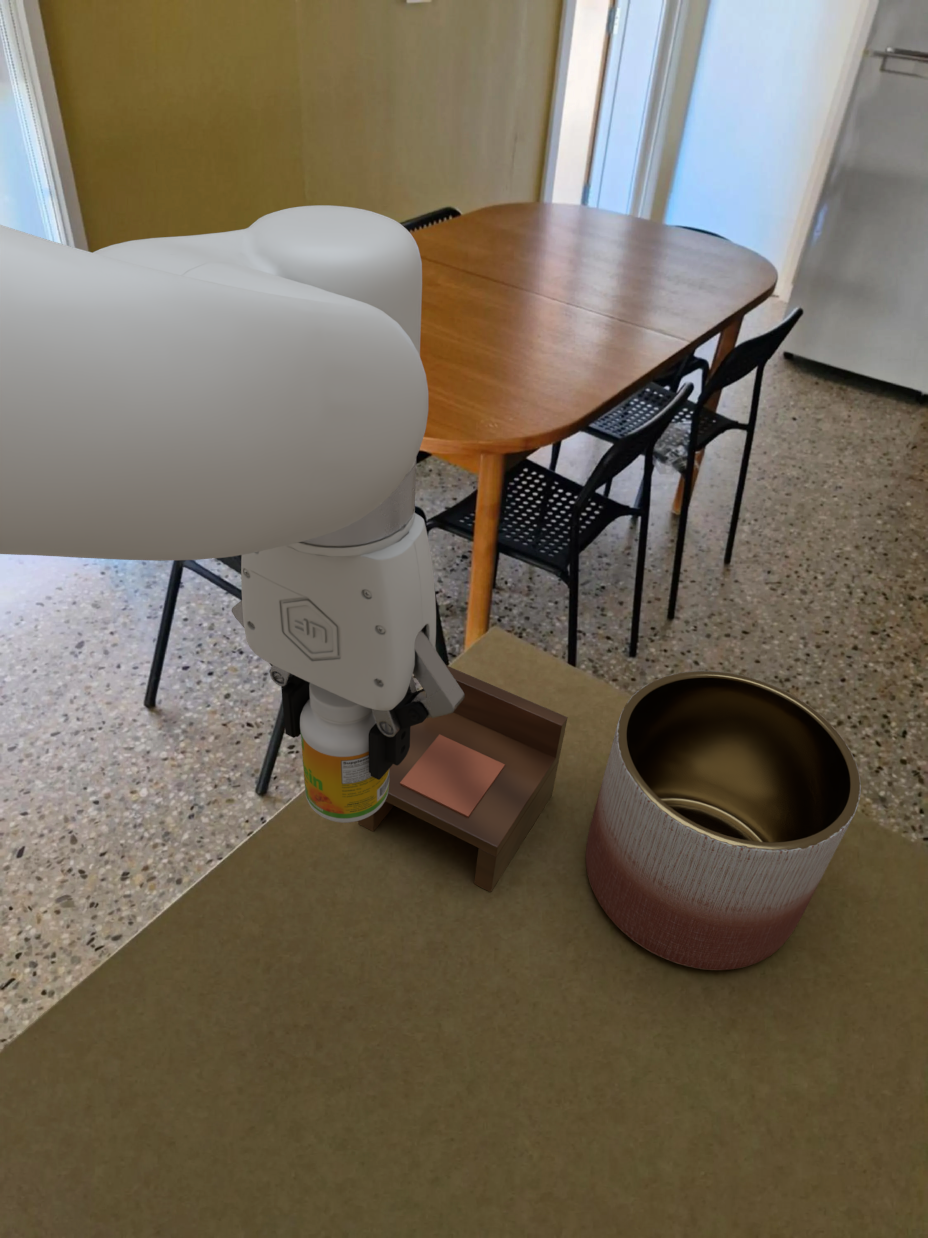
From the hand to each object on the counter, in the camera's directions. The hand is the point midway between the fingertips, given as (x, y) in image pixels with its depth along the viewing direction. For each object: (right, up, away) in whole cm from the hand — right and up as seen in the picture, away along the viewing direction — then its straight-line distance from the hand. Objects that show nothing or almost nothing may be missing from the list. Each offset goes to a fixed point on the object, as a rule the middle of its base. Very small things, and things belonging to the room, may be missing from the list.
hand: (346, 740), depth 54 cm
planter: (+26, -14, +20) cm, 36 cm away
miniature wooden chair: (+7, -9, +24) cm, 27 cm away
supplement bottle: (0, -4, +3) cm, 5 cm away
